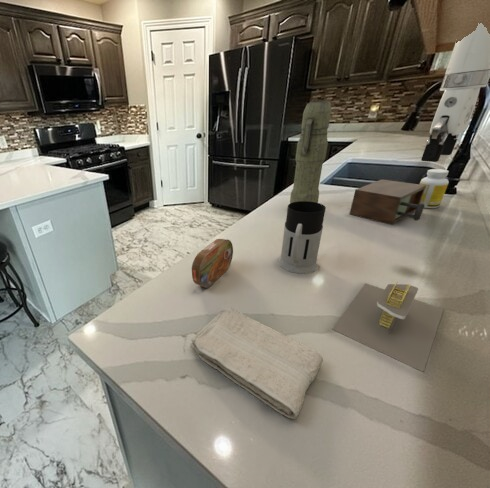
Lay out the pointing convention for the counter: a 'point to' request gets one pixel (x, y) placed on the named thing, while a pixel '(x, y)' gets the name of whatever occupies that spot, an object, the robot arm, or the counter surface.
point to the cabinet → (385, 200)
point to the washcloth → (259, 360)
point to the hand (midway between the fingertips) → (436, 157)
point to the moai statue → (311, 151)
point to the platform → (392, 322)
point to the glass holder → (302, 236)
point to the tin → (212, 262)
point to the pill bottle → (434, 187)
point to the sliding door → (405, 203)
